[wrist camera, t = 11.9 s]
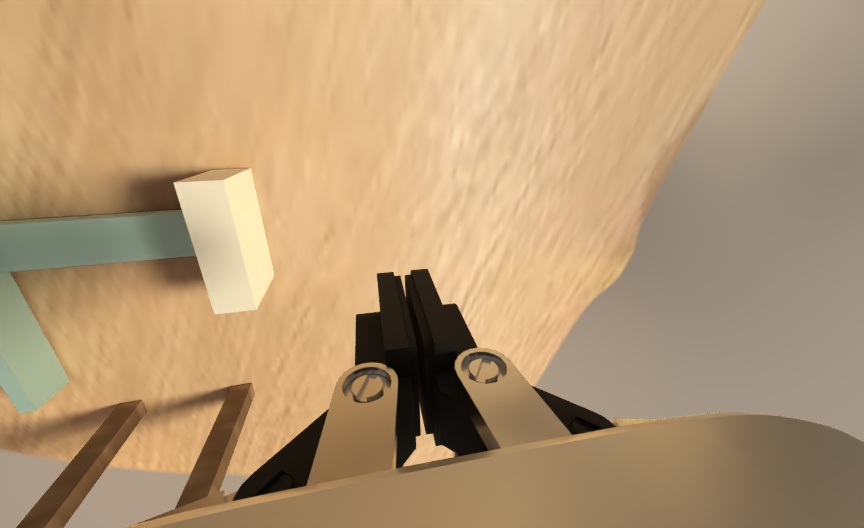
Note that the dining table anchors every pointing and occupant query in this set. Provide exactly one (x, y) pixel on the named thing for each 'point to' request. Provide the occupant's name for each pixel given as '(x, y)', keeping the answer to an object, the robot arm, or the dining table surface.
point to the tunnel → (89, 464)
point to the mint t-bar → (124, 242)
